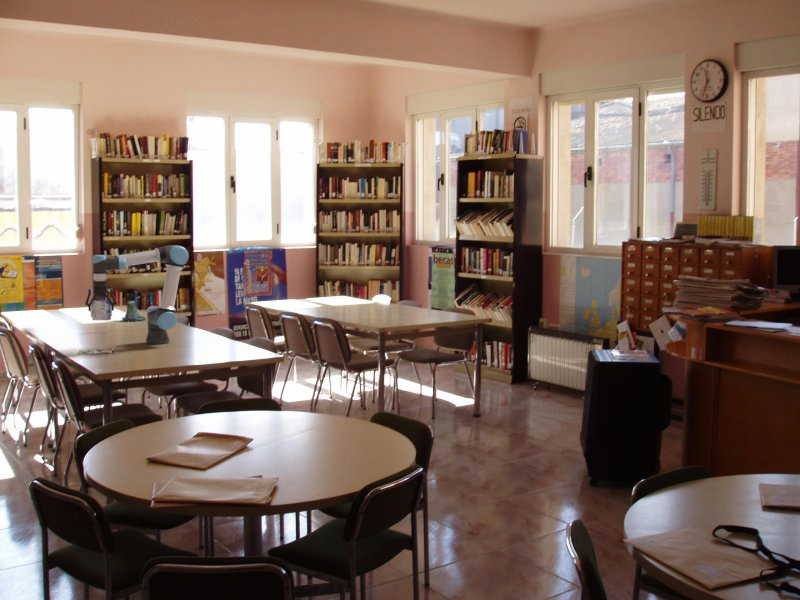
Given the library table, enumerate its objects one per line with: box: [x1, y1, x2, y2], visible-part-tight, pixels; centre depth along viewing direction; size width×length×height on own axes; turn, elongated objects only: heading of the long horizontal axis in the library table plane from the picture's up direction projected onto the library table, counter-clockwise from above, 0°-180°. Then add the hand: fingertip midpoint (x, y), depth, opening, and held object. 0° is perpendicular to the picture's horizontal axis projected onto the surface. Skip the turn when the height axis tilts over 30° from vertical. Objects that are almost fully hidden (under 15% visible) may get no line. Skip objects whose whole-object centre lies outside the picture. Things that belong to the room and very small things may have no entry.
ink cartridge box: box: [91, 295, 112, 321], centre depth 521 cm, size 10×6×14 cm, turn 79°
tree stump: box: [121, 300, 147, 322], centre depth 666 cm, size 18×20×18 cm
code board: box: [77, 348, 108, 355], centre depth 523 cm, size 20×14×1 cm
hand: (101, 316), depth 522 cm, fingers closed on ink cartridge box, 11 cm apart
